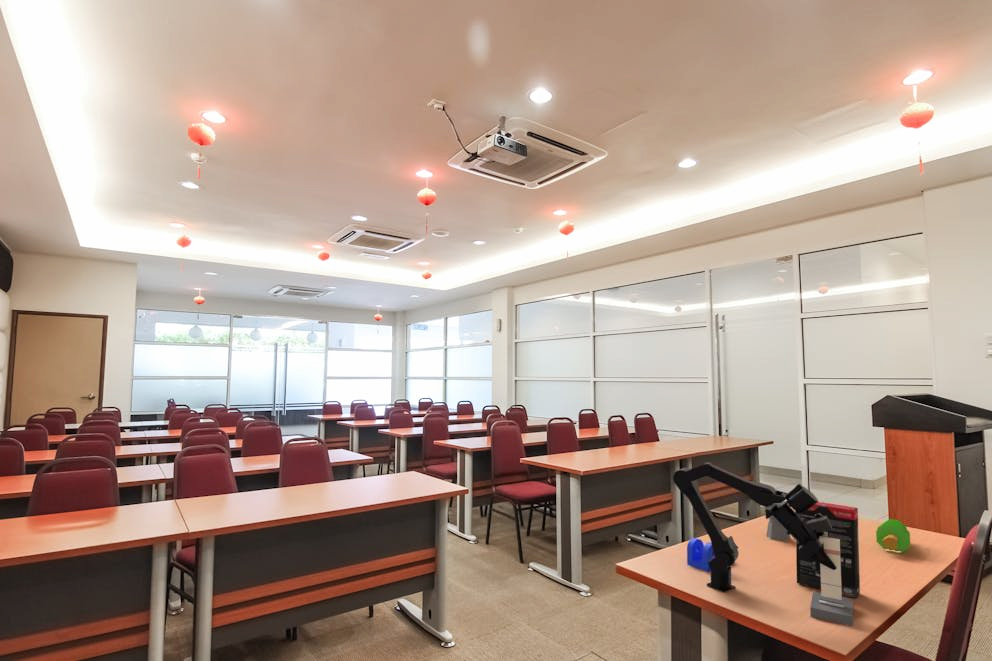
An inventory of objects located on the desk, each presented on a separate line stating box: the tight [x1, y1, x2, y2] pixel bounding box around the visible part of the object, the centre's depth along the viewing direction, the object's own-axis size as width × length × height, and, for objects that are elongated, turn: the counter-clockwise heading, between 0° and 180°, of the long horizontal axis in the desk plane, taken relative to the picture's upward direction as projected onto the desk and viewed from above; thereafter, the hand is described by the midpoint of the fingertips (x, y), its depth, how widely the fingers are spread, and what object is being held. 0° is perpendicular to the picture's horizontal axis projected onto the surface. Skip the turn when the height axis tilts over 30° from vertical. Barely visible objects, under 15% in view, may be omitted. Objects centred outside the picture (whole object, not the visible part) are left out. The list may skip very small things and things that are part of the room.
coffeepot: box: [764, 500, 796, 542], centre depth 226 cm, size 15×9×18 cm, turn 70°
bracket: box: [686, 537, 715, 573], centre depth 193 cm, size 18×8×9 cm, turn 124°
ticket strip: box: [819, 536, 843, 600], centre depth 155 cm, size 5×2×16 cm, turn 56°
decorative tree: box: [875, 518, 911, 553], centre depth 216 cm, size 11×12×30 cm
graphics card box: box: [795, 501, 861, 599], centre depth 172 cm, size 17×7×27 cm, turn 48°
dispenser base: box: [809, 590, 854, 627], centre depth 154 cm, size 10×14×3 cm
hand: (835, 567), depth 154 cm, fingers open, 3 cm apart
